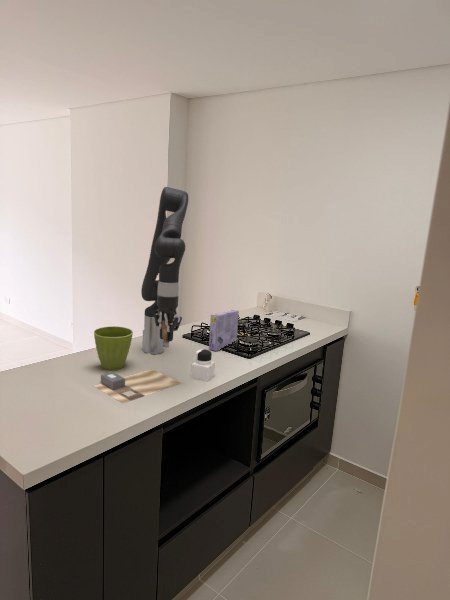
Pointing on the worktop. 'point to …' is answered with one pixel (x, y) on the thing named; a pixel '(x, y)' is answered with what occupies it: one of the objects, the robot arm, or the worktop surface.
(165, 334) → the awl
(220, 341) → the cake pan box
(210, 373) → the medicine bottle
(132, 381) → the subfloor panel
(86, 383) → the worktop surface
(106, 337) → the flower pot
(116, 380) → the block
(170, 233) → the robot arm
